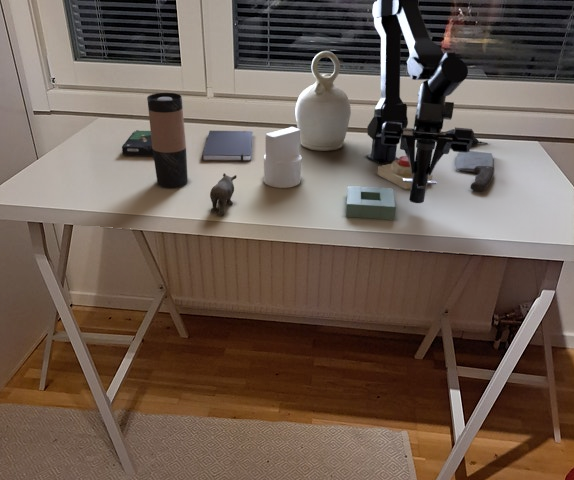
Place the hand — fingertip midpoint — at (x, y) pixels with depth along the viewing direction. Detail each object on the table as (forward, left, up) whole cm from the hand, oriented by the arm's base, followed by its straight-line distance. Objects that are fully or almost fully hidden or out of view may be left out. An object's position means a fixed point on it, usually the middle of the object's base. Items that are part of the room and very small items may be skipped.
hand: (420, 173), depth 116 cm
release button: (-17, +11, -6) cm, 21 cm away
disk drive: (-68, -37, -9) cm, 78 cm away
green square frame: (-7, -7, -9) cm, 14 cm away
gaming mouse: (-31, +46, -9) cm, 56 cm away
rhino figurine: (-24, -34, -9) cm, 43 cm away
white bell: (-49, +8, -9) cm, 50 cm away
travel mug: (-41, -40, -9) cm, 58 cm away
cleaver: (-12, +31, -9) cm, 35 cm away
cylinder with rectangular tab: (-30, -16, -9) cm, 35 cm away
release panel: (-17, +11, -9) cm, 22 cm away
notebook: (-58, -17, -9) cm, 61 cm away
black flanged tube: (-1, +1, -7) cm, 7 cm away
